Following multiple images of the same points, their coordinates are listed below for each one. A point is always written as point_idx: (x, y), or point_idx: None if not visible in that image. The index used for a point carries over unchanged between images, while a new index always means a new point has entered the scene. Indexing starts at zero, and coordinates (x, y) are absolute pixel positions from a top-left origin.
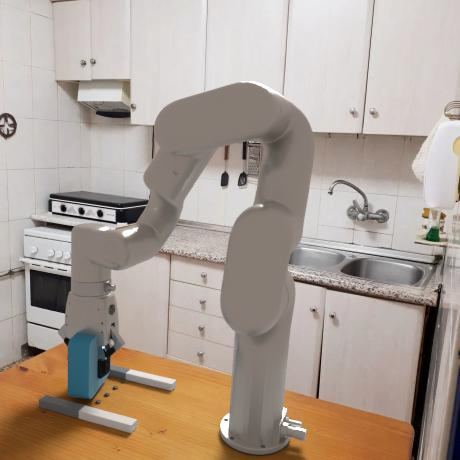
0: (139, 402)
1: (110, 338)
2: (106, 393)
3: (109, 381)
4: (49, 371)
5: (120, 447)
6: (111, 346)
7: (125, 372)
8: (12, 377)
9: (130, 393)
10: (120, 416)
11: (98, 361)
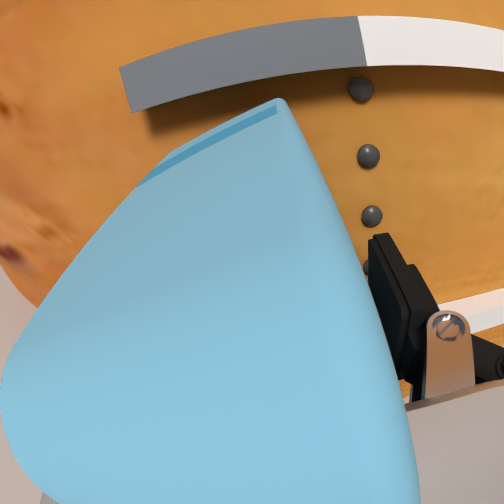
0: (489, 192)
1: (467, 390)
2: (367, 213)
3: (301, 119)
4: (51, 219)
5: (491, 340)
6: (473, 367)
7: (359, 59)
8: (41, 298)
9: (441, 156)
10: (484, 315)
11: (397, 373)
